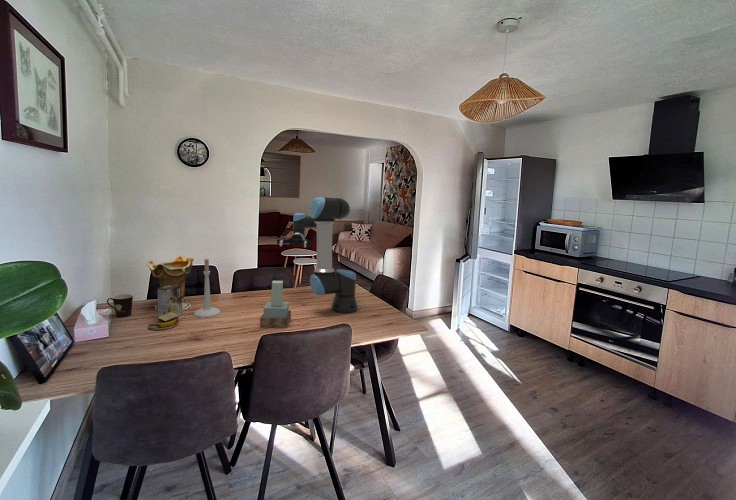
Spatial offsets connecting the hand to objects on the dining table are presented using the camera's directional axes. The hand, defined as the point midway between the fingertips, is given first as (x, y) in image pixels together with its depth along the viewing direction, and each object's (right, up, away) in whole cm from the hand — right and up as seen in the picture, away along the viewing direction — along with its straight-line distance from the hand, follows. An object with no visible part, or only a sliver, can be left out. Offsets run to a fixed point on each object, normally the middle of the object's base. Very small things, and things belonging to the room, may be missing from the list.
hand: (292, 244), depth 203 cm
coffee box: (-59, -38, -19) cm, 72 cm away
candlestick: (-44, -37, -10) cm, 58 cm away
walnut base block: (-5, -41, -18) cm, 45 cm away
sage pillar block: (-4, -31, -20) cm, 37 cm away
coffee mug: (-83, -36, -19) cm, 93 cm away
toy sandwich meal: (-56, -40, -29) cm, 75 cm away
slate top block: (-4, -36, -19) cm, 41 cm away
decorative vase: (-66, -35, -2) cm, 74 cm away
